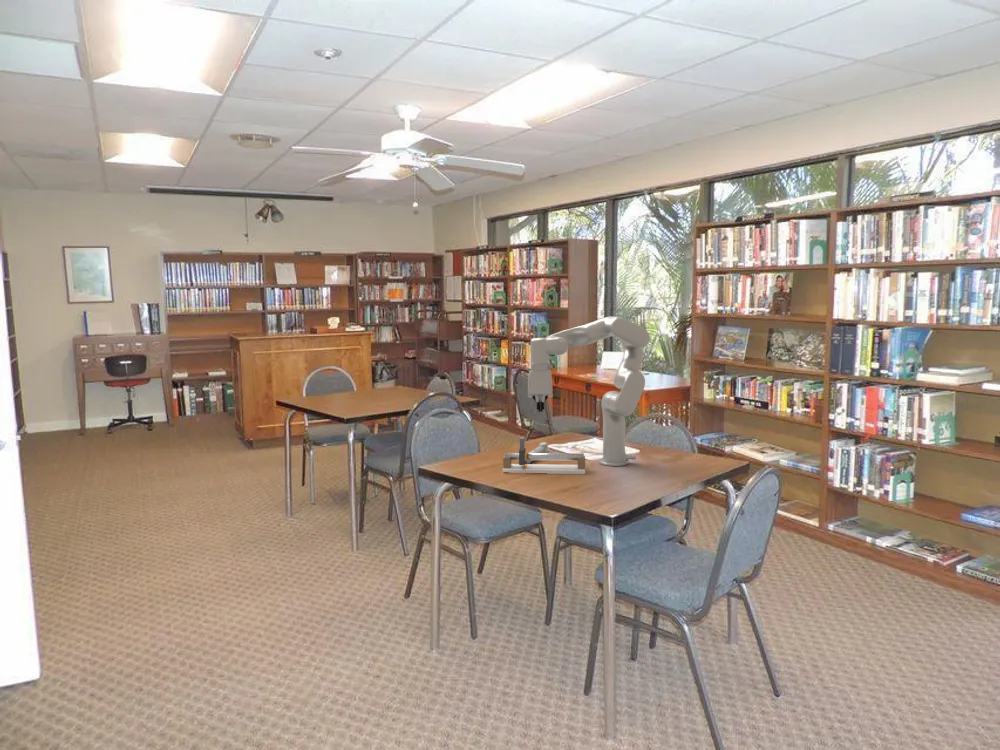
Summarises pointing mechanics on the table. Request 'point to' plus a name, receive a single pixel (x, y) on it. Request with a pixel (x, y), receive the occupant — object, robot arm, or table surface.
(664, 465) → the table surface
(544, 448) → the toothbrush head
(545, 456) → the pipe
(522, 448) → the collar
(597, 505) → the table surface
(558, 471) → the pipe base
